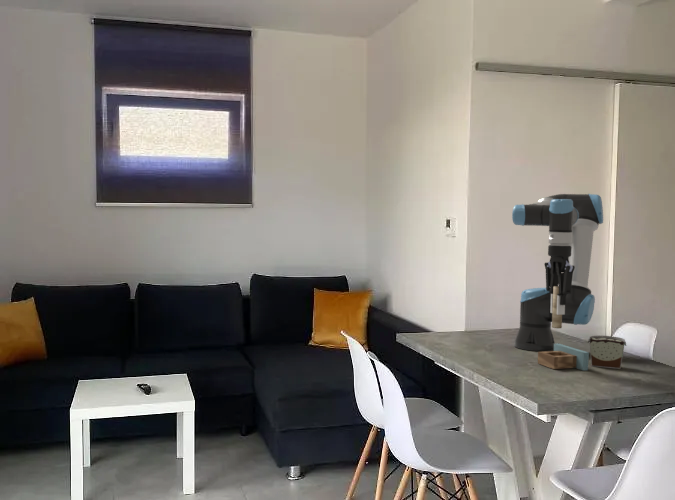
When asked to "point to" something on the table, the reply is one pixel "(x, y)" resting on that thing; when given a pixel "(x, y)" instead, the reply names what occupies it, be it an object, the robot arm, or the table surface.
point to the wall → (581, 355)
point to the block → (557, 359)
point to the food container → (606, 351)
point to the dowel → (556, 318)
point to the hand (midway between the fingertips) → (557, 313)
